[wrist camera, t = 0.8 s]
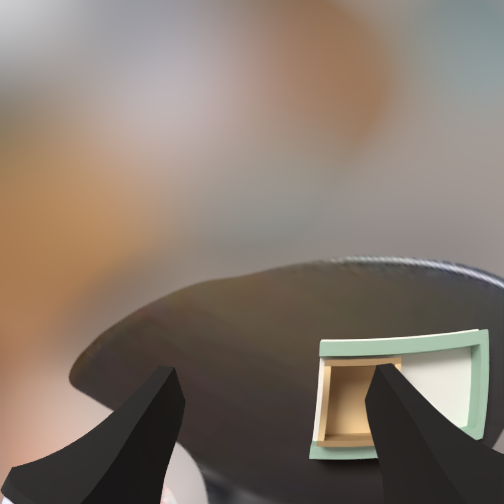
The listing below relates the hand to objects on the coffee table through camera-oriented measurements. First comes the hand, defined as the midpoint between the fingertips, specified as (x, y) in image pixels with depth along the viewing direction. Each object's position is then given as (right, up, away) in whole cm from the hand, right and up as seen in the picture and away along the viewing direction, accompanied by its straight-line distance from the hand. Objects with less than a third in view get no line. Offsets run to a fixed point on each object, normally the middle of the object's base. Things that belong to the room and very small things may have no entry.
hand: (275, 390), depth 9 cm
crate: (+8, -8, +11) cm, 16 cm away
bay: (+13, -8, +11) cm, 19 cm away
